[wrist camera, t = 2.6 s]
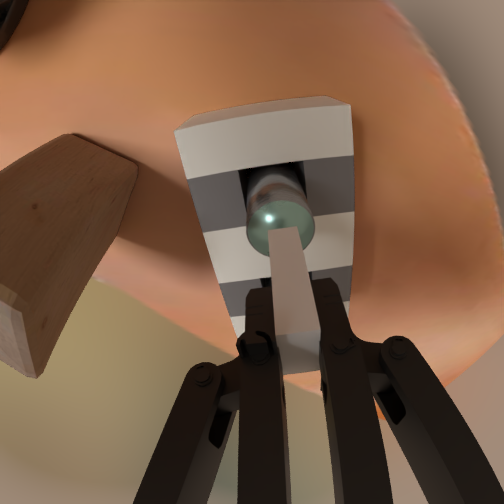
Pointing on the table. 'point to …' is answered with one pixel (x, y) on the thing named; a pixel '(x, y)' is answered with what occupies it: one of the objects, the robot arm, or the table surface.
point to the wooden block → (54, 240)
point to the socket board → (266, 153)
